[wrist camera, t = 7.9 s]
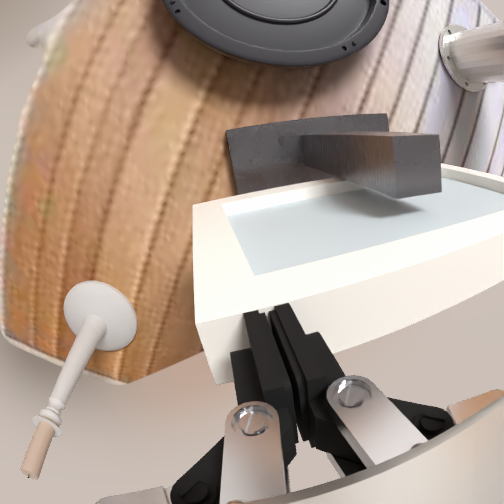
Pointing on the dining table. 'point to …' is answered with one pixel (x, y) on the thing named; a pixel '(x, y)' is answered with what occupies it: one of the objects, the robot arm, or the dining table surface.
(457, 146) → the dining table surface
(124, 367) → the dining table surface
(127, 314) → the candlestick
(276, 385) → the robot arm
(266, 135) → the frame stand
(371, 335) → the picture frame
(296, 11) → the round tray
